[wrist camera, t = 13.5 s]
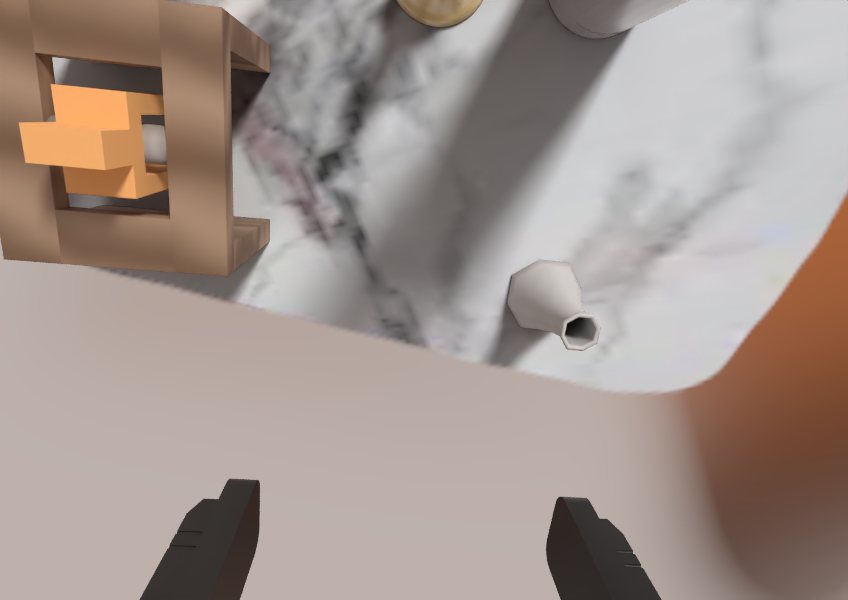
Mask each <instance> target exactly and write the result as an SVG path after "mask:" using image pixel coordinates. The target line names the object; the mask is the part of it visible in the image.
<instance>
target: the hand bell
mask: <svg viewBox="0 0 848 600" xmlns="http://www.w3.org/2000/svg"><path fill="white" fill-rule="evenodd" d="M482 1H483V0H397V2H398V4H399V5H400V6H401V7H402V9H403V10H404V11H405V12H406V13H407V14H408V15H409V16H411V17H412V18H413V19H415V20H417V21H419V22H421V23H423V24H425V25H429V26H436V27H444V26H450V25H454V24H457V23H459V22H461V21H463V20H465V19H466V18H467V17H469V16H470V15H472V14H473V13H474V12H475V10H476V9H477V8H478V7H479V6H480V4H481V3H482Z"/></svg>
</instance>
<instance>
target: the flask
mask: <svg viewBox="0 0 848 600" xmlns="http://www.w3.org/2000/svg"><path fill="white" fill-rule="evenodd" d="M507 304H508V305H509V307H510V309H511V311H512V313H513V315H514V317H515V318H516V320H517V322H518V324H519V326H520V327H524V328H532V329H539V330H544V331H550V332H553V333H555V334H557V335H559V336H560V337H561V339H562V341H563V343H564V345H565V347H566V349H569V350H579V351H583V350H585V349H587V348H589V347H591V346H593V345H595V344H597V342H598V338H599V334H600V330H601V328H600V325H599V323H598V321H597V319H596V317H595V315H594V314H591V313H586V312H584V311H583V308H582V301H581V288H580V286H579V284H578V281H577V279H576V277H575V275H574V273H573V271H572V269H571V267H570V265H569V263H563V262H555V261H546V260H538V261H536V262H535V263H533V264H531V265H529V266H527V267H526V268H524V269H522V270H520V271H518V272H516V273H515V274H513V276H512V281H511V286H510V291H509V297H508V302H507Z"/></svg>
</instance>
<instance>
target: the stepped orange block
mask: <svg viewBox="0 0 848 600" xmlns="http://www.w3.org/2000/svg"><path fill="white" fill-rule="evenodd" d="M51 90H52V97H53V104H54V110H55V117H56V122H21V123H19V127H20V133H21V139H22V145H23V151H24V156H25V162H26V163H34V164H45V165H56V166H63V172H64V179H65V185H66V192H67V193H76V194H87V195H98V196H109V197H120V198H131V199H138V198H141V197H144V196H147V195H150V194H154V193H157V192H160V191H163V190H166V189H169V188H168V170H167V165H161V164H150V163H145V156H144V145H143V134H142V123H141V115H164V100H163V95H158V94H149V93H140V92H129V91H119V90H109V89H98V88H88V87H77V86H67V85H56V84H51Z"/></svg>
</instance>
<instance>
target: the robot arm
mask: <svg viewBox="0 0 848 600" xmlns="http://www.w3.org/2000/svg"><path fill="white" fill-rule="evenodd" d="M687 1H689V0H549V3H550V5H551V7H552V10H553V12H554V14H555V15H556V16H557V18H558V19H559V21H560V22H561V23H562V24H563V25H564V26H565V27H566V28H567V29H569V30H570V31H572V32H574V33H575V34H577V35H579V36H583V37H587V38H606V37H610V36H614V35H616V34H618V33H621V32H624V31H626V30H628V29H629V28H631V27H633V26H636V25H638V24H640V23H642V22H645V21H647V20H649V19H651V18H653V17H655V16H657V15H659V14H661V13H664V12H666V11H668V10H670V9H672V8H674V7H676V6H678V5H680V4H683V3H685V2H687ZM259 509H260V483H259V481H258V480H244V479H229V480H228V481H227V483H226V485H225V487H224V489H223V491H222V494H221V496H220V497H219V499H203V500H202V501H201V502H200V503H198V504H197V505H196V506H195V507H194V508H193V509H191V510H190V511H189V512H188V513H187V514H186V516H185V518H184V520H183V522H182V523H181V525H180V527H179V529H178V532H177V534H176V535H175V536H174V538H173V540H172V542H171V543H170V547H169V549H167V551H166V553H165V554H164V556H163V558H162V560H161V562H160V564H159V566H158V567H157V569H156V571H155V573H154V575H153V577H152V578H151V580H150V582H149V584H148V585H147V587H146V589H145V591H144V593H143V595H142V597H141V598H140V600H240V597H241V594H242V591H243V588H244V585H245V582H246V579H247V576H248V573H249V570H250V567H251V564H252V561H253V558H254V555H255V551H256V547H257V542H258V536H259V515H260V511H259ZM546 554H547V562H548V565H549V569H550V571H551V574H552V577H553V580H554V582H555V585H556V588H557V591H558V593H559V596H560V599H561V600H661V598H660V597H659V595H658V593H657V591H656V590H655V588H654V586H653V585H652V583H651V581H650V579H649V578H648V576H647V574H646V573H645V571H644V569H643V568H641V564H640V562H639V560H638V559H637V557H636V555H635V554H633V550H632V549H631V547H630V545H629V543H628V542H627V540H626V538H625V537H624V535H623V534H622V533H621V532H620V531H619V530H618V529H617V528H616V527H615V526H614V525H613V524H612V523H611V522H610V521H609V520H608V519H599V518H598V516H597V514H596V512H595V510H594V508H593V506H592V505H591V503H590V501H589V500H588V499H587V498H574V497H559V498H558V499H557V501H556V504H555V508H554V512H553V517H552V521H551V525H550V529H549V534H548V538H547V544H546Z"/></svg>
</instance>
